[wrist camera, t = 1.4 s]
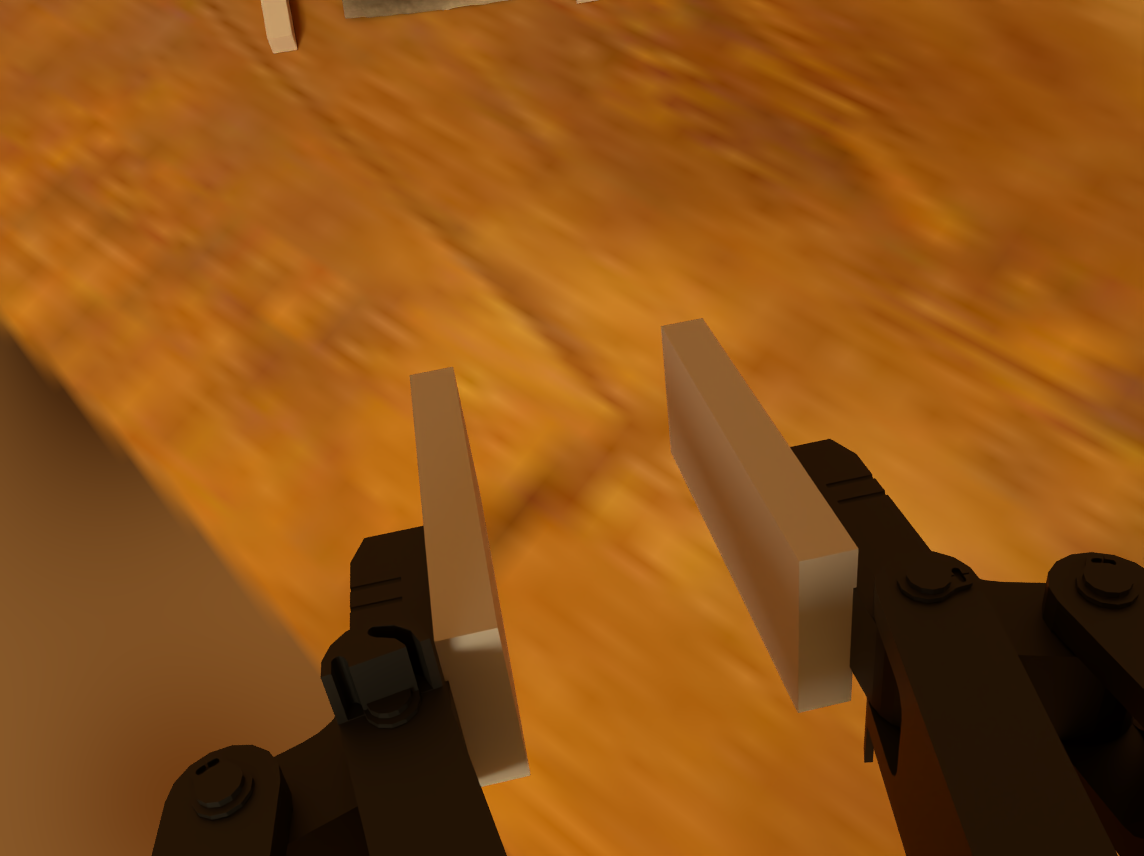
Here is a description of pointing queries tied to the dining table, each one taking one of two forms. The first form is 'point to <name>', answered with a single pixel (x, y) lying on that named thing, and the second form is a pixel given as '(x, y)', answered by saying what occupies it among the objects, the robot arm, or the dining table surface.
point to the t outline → (287, 24)
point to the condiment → (402, 6)
